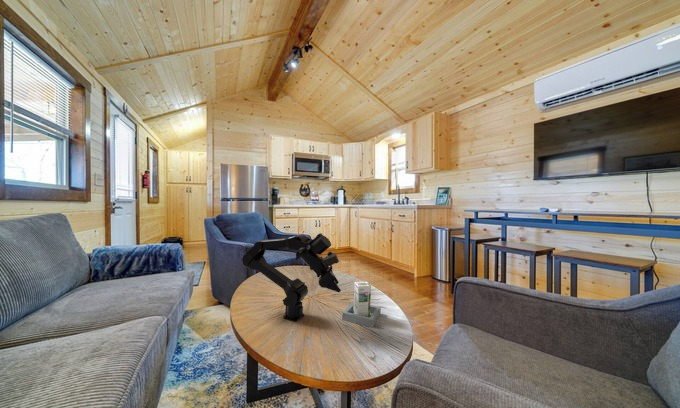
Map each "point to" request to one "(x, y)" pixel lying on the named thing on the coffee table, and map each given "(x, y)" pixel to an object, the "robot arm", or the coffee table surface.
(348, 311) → the socket board
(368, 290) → the syrup box
